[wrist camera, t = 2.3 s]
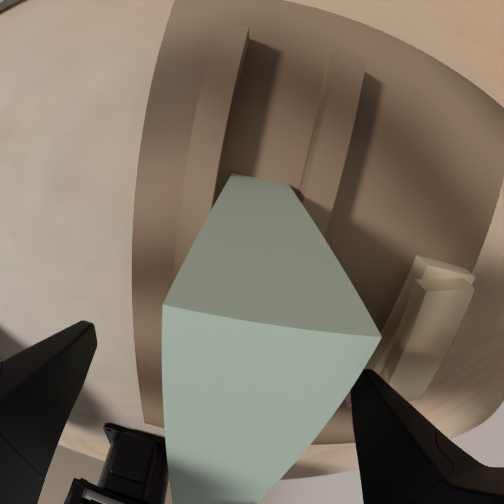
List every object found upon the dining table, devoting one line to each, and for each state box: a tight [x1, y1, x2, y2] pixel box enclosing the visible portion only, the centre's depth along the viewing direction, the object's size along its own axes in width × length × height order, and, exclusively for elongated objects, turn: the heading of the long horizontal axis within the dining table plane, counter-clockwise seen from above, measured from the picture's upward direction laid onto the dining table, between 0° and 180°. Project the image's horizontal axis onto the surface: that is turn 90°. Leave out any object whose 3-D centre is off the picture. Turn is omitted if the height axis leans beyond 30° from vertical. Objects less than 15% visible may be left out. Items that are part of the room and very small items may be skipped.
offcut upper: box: [379, 278, 475, 402], centre depth 11 cm, size 7×3×1 cm, turn 179°
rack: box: [132, 0, 504, 445], centre depth 12 cm, size 24×16×2 cm, turn 169°
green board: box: [162, 173, 382, 504], centre depth 8 cm, size 10×2×8 cm, turn 169°
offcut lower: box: [345, 255, 475, 407], centre depth 12 cm, size 9×4×1 cm, turn 169°
